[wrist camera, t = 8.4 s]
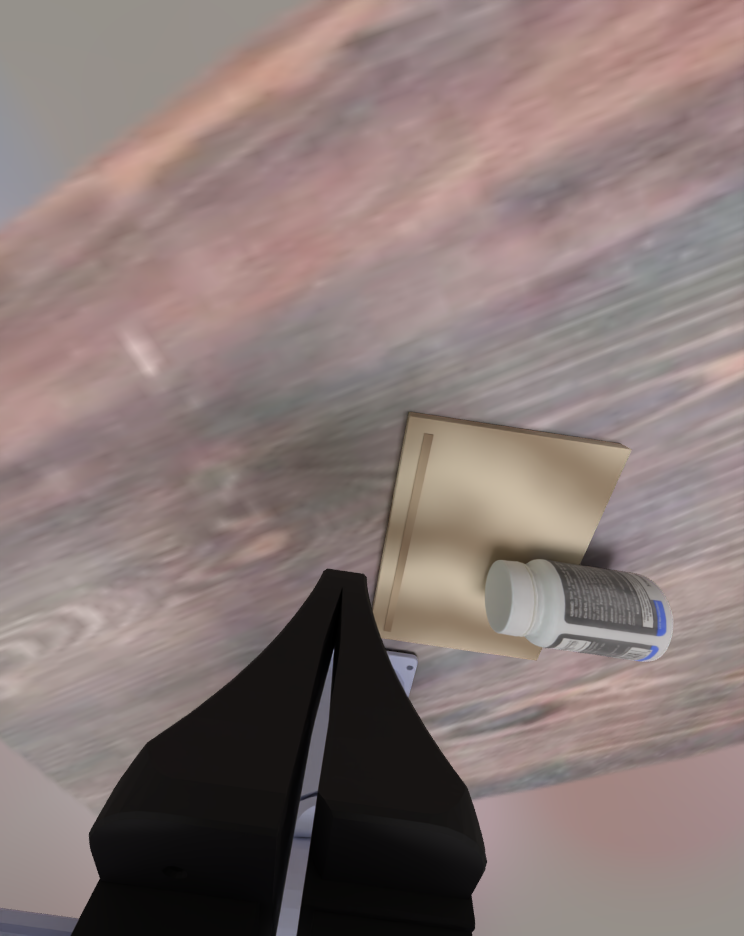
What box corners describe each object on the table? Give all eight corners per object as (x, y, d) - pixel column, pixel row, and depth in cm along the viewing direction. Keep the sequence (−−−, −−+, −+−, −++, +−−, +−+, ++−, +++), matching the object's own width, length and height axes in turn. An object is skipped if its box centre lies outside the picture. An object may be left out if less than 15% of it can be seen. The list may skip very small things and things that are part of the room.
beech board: (531, 648, 26) (537, 661, 25) (369, 625, 26) (368, 637, 25) (620, 443, 20) (632, 450, 19) (408, 411, 20) (409, 416, 19)
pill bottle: (622, 561, 23) (491, 540, 22) (687, 598, 18) (522, 572, 18) (604, 631, 23) (476, 611, 23) (662, 684, 19) (502, 659, 18)
